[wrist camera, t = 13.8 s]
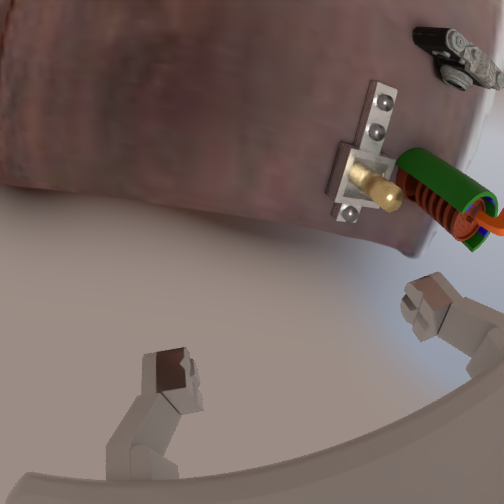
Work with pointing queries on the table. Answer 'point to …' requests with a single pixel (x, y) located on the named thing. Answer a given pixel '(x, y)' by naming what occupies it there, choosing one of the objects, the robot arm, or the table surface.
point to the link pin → (376, 187)
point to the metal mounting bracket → (363, 154)
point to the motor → (449, 197)
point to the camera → (458, 59)
